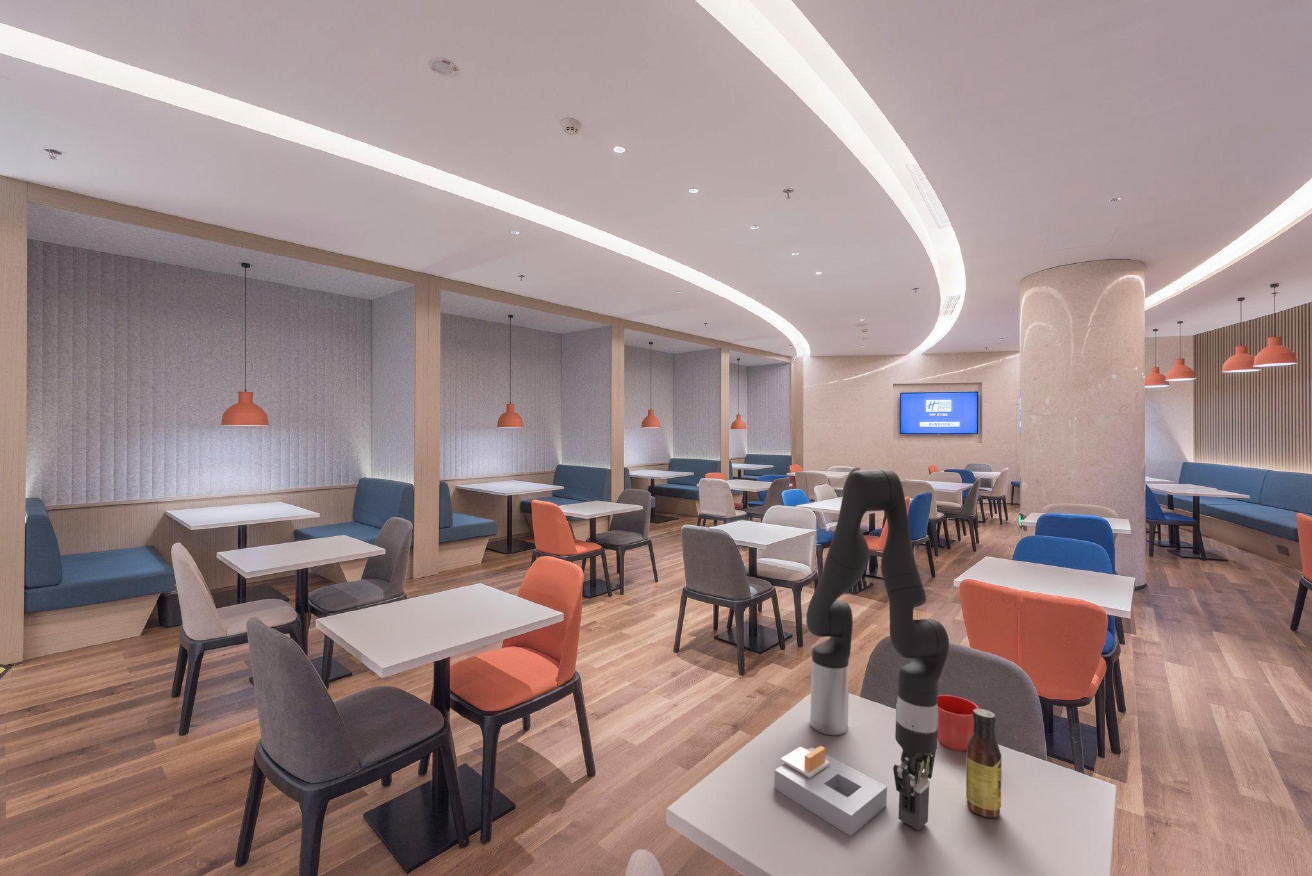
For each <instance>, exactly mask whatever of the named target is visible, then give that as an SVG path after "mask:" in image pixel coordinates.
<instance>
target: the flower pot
mask: <svg viewBox="0 0 1312 876" xmlns="http://www.w3.org/2000/svg"><path fill="white" fill-rule="evenodd" d="M937 708H938V737H937V741H938V742H939V743H940V744H941V745H943V746H944V747H946V748H949V749H952V750H954V751H959V752H960V751H961V752H963V751H966V752H967V743H968V739H969V738H970V736H971V735H972V734H973V732H974V731H973V728H974V718H973V710H974V709H980V707H979V705H978V704H976V703H975V702H972V701H971V700H968V699H965V698H963V697H960V696H955V695H951V694H950V695H949V694H939V695H938V696H937Z"/></svg>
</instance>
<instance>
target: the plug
mask: <svg viewBox="0 0 1312 876" xmlns="http://www.w3.org/2000/svg"><path fill="white" fill-rule="evenodd" d="M910 776H912V777H914V778H915V776H913V775H911V774H910ZM930 782H931V781H930V780H929V779H928V780H926V779H923V778H922V777H921V778H920V783H919V784H917V786H916V794H915V812H914V813H913V814H910V813H908V812H906V811H904V810H903V809H902V793H900V792H898V793H899V794H898V820H899V821H902V823H903V822H904V824H906V825H908V826H911V827H912V828H914V829H915V830H917V831H920V830H921V829H922V828H923V827H924V826H925V825H926V824H927V823H928V821H929V801H930ZM910 785H911V786H912V783H911V782H910Z"/></svg>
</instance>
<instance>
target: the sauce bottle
mask: <svg viewBox="0 0 1312 876" xmlns="http://www.w3.org/2000/svg"><path fill="white" fill-rule="evenodd" d="M973 718H974V728H973V731H974V732H973V734H972V735H971V736H970V738H969V739H968V743H967V751H966V767H965V768H966V771H965V772H966V774H965V775H966V776H965V778H966V779H965V781H966V782H965V787H966V789H965V799H966V804H967V807H968V808H969V809H970V811H971V812H973V813H974V814H976V815H978V816H980V817H983V818H989V819H995V818H998V817H999V816H1000V813H1001V807H1002V775H1003V774H1002V762H1003V761H1002V753H1001V750H1000V746H999V743H998V741H997V738H996V733H995V730H996V729H995V728H996V726H995V724H996V722H997V720H996V719H997V718H996V714H995V713H994V712H992V711H990V710H987V709H984V708H979V709H974V710H973Z"/></svg>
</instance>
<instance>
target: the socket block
mask: <svg viewBox="0 0 1312 876" xmlns="http://www.w3.org/2000/svg"><path fill="white" fill-rule="evenodd" d="M815 749H816V748H814V747H810V748H808V749H807V750H808V751H810V752H811V751H813V750H815ZM825 760H827V761H829V762H830V765H828V766H827V767H825V768H824V769H822V770H821V771H819V772H818V773H816V774H815V775H813V776H812V777H810V778H809V777H807V776H806V775H804V774H802V773H800V772H799V771H797V770H795V769H793V768H792V767H790V766H788V765H787V764H785V763H783V764H782V765H781V766H779V767H777V768H776V769H774V779H773V780H774V784H773V786H774V787H773V789H775V791H778V793H780V794H782V795H784V796H786V797H787V798H789V799H791V800H792V801H793V802H795V803H797V804H798V805H800V806H802V807H803V808H805V809H807V810H808V811H809V812H811V813H813V814H814V815H816V816H817V817H819V818H821V819H822V820H824V821H825V822H827V823H829V824H830V825H832V826H833V827H835V828H837V829H838V830H840V831H842V832H843V833H845V834H846V835H848V836H849V837H853V835H854V834H855V833H857V831H859V830H861V828H862V827H863V826H865V825H866V824H867V823H868V822H869V821H871V820H872V819H873V818H874V817H876V816H877V815H878V814H879V813H880V812H881V811H882V810H883V809H885V808H886V807H887V804H888V803H887V802H888V801H887V800H888V799H887V798H888V797H887V796H888V786H887V785H885V784H883V783H881V782H879V781H877V780H875V779H873V778H871V777H869V776H867V775H866V774H864V773H862V772H860V771H858V770H857V769H855V768H852V767H850V766H849V765H847V764H845V763H842V762H841V761H839V760H837V759H836V758H833V757H832V756H830V755H828V754H826V753H825Z"/></svg>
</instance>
